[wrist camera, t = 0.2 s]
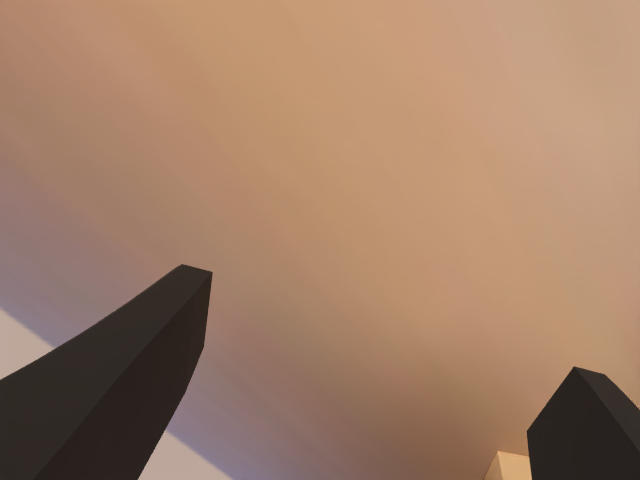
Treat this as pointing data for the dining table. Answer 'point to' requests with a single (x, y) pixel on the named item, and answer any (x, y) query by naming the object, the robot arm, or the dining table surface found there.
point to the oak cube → (509, 467)
